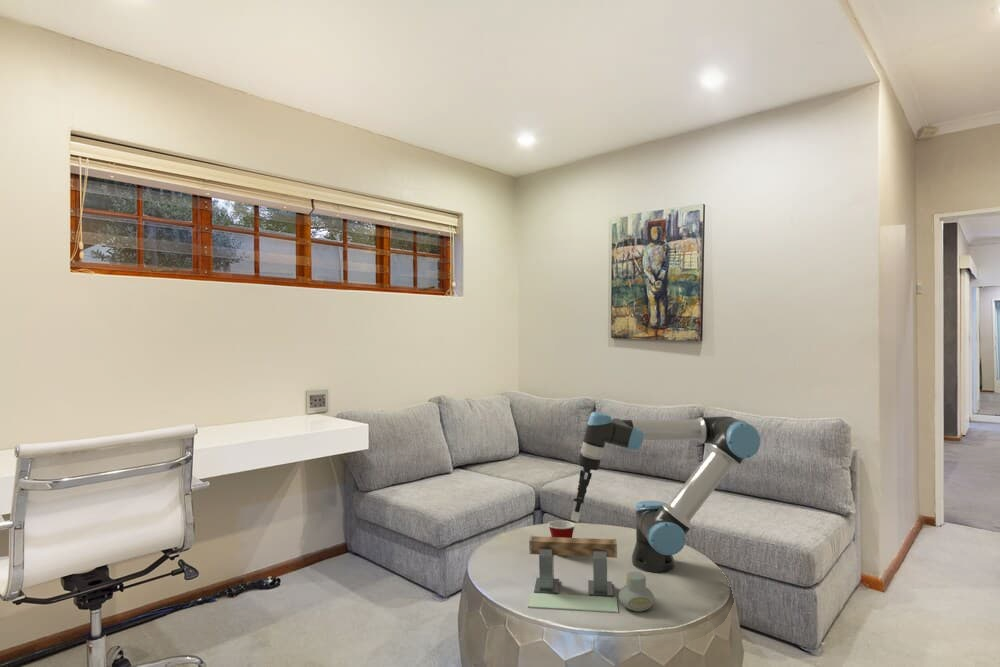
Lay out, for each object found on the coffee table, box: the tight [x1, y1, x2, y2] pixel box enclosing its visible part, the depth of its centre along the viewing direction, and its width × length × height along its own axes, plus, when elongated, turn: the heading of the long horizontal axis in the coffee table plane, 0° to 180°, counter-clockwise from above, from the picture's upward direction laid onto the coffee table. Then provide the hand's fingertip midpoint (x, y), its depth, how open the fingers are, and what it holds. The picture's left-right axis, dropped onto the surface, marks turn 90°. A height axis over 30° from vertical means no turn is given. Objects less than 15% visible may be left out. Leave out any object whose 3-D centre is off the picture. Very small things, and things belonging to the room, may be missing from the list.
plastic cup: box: [547, 520, 576, 557], centre depth 215 cm, size 11×11×12 cm
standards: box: [533, 548, 614, 597], centre depth 186 cm, size 26×10×14 cm, turn 81°
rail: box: [528, 535, 618, 558], centre depth 186 cm, size 29×5×5 cm, turn 81°
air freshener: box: [618, 571, 655, 613], centre depth 173 cm, size 11×8×10 cm
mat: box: [527, 592, 619, 614], centre depth 176 cm, size 28×9×1 cm, turn 81°
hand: (575, 515), depth 190 cm, fingers open, 13 cm apart
